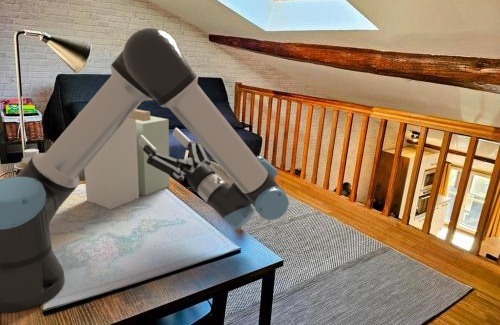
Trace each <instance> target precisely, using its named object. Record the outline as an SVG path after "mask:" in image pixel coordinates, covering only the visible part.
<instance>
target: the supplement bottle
mask: <svg viewBox="0 0 500 325" xmlns="http://www.w3.org/2000/svg"><path fill="white" fill-rule="evenodd" d="M39 151H40V150H39V149H37V148H28V149H25V150H23V155H24V156H23V157H22V158H21V167H22V169H23V168H24V167H25V165H26V164H27V163H28V162H29V161H30V160H31V158H32V157H33V156H34V155H35V154H38V153H40V152H39Z"/></svg>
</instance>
